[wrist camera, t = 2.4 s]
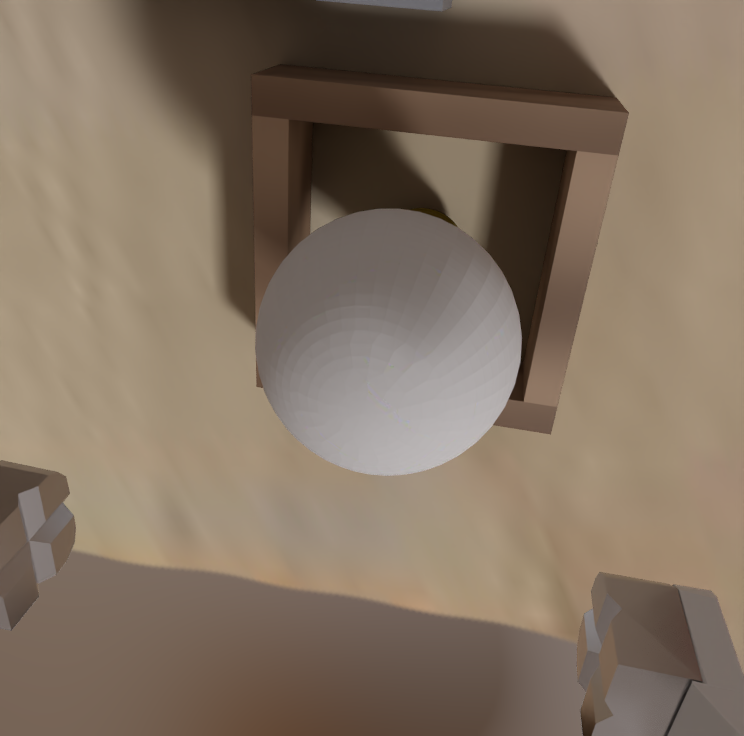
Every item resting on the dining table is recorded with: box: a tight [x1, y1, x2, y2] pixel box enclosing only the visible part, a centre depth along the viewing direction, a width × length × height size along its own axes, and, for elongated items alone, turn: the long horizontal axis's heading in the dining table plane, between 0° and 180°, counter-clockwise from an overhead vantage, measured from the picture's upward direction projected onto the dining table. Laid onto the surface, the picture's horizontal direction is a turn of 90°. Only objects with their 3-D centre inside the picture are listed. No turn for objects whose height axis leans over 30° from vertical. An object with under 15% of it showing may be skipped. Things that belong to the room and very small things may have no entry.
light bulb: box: [255, 208, 522, 476], centre depth 17 cm, size 6×6×10 cm
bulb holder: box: [251, 64, 629, 434], centre depth 20 cm, size 9×9×2 cm
